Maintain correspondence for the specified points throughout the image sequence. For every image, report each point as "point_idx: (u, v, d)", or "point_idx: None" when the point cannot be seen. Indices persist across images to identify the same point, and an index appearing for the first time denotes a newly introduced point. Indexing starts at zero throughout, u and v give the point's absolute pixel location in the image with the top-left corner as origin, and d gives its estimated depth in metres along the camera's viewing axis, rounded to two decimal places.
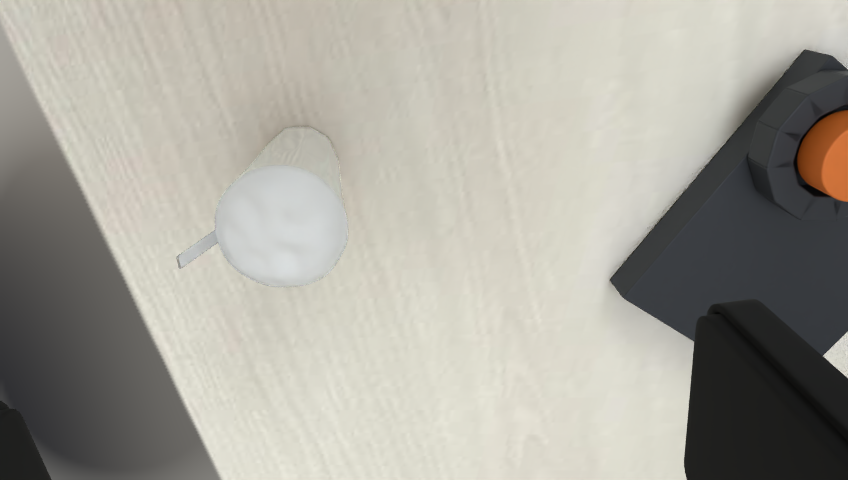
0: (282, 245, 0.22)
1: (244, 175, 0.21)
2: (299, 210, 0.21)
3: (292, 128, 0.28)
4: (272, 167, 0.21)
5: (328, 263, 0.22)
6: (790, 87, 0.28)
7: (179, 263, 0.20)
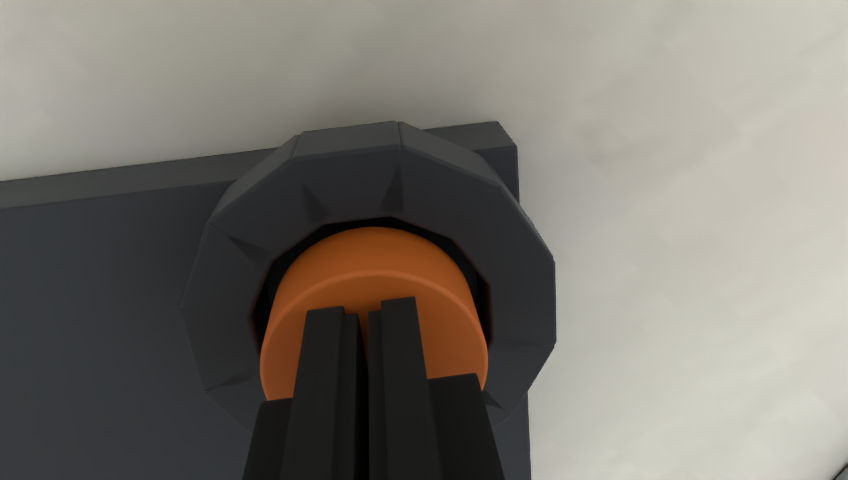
0: None
1: None
2: None
3: None
4: None
5: None
6: (404, 125, 0.11)
7: None
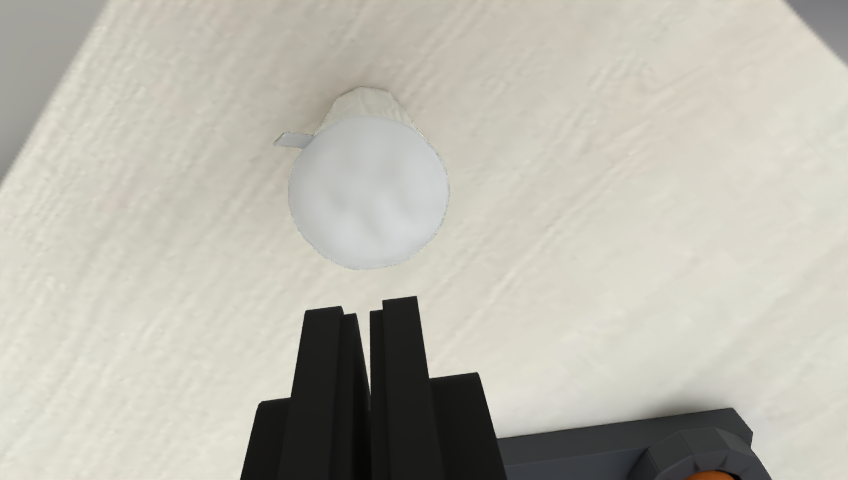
0: (366, 216, 0.17)
1: (400, 124, 0.17)
2: (417, 204, 0.17)
3: None
4: (428, 143, 0.18)
5: (375, 265, 0.18)
6: (716, 429, 0.31)
7: (279, 140, 0.15)
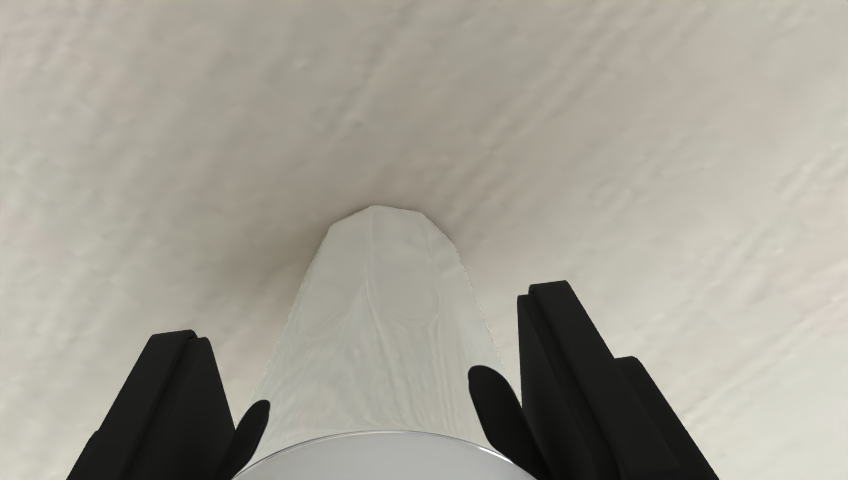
0: None
1: (471, 463, 0.06)
2: None
3: (434, 228, 0.13)
4: None
5: None
6: None
7: None
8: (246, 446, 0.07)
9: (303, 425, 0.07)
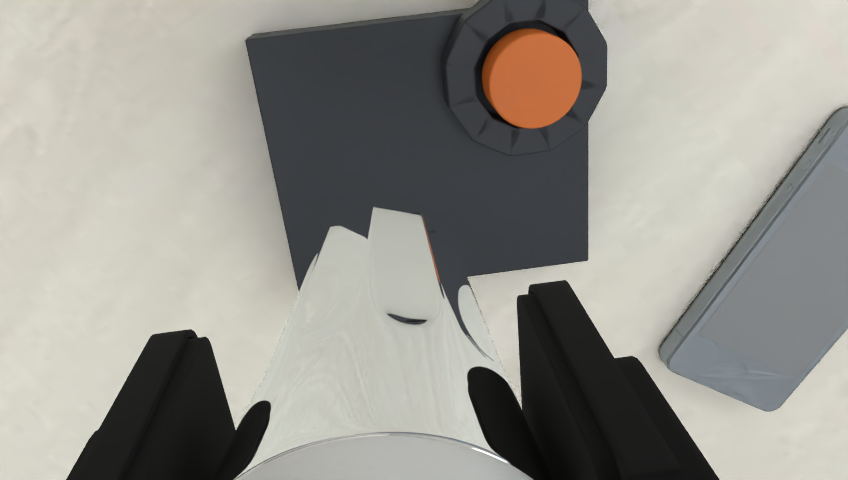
0: None
1: (471, 466, 0.06)
2: None
3: (434, 229, 0.13)
4: None
5: None
6: None
7: None
8: (246, 449, 0.07)
9: (303, 428, 0.07)
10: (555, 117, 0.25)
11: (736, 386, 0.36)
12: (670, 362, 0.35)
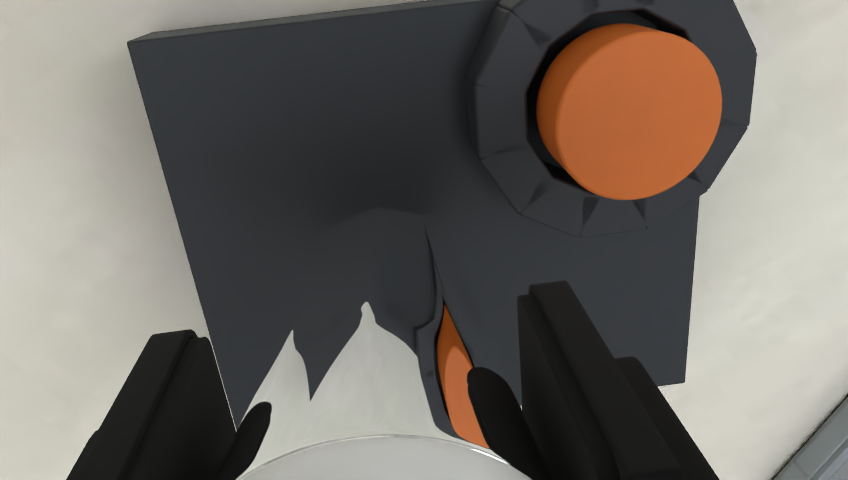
0: None
1: (472, 468, 0.06)
2: None
3: (434, 230, 0.13)
4: None
5: None
6: None
7: None
8: (246, 450, 0.07)
9: (303, 429, 0.07)
10: (669, 181, 0.14)
11: None
12: None
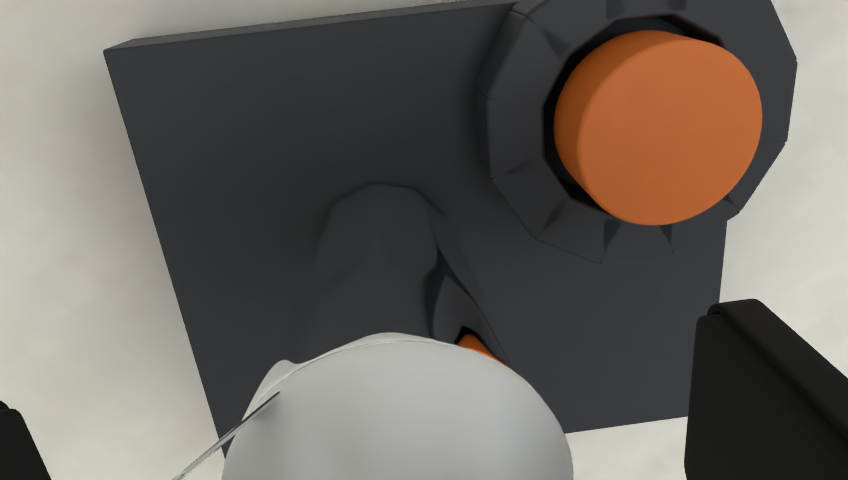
0: None
1: (472, 363, 0.08)
2: None
3: (428, 203, 0.15)
4: (533, 397, 0.08)
5: None
6: None
7: None
8: (284, 362, 0.08)
9: (333, 340, 0.08)
10: (702, 205, 0.13)
11: None
12: None
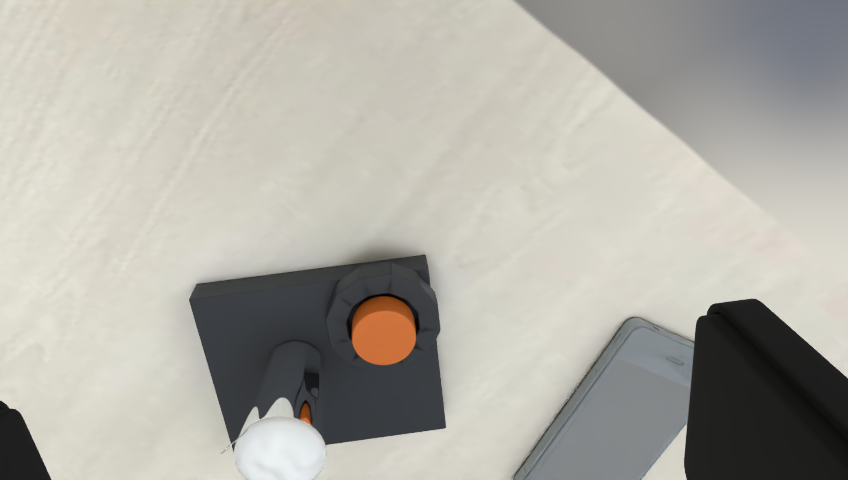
0: (276, 472, 0.31)
1: (294, 422, 0.31)
2: (305, 466, 0.31)
3: (311, 348, 0.39)
4: (311, 430, 0.32)
5: None
6: (392, 264, 0.37)
7: None
8: (250, 420, 0.32)
9: (262, 416, 0.32)
10: (400, 358, 0.37)
11: None
12: None
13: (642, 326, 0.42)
